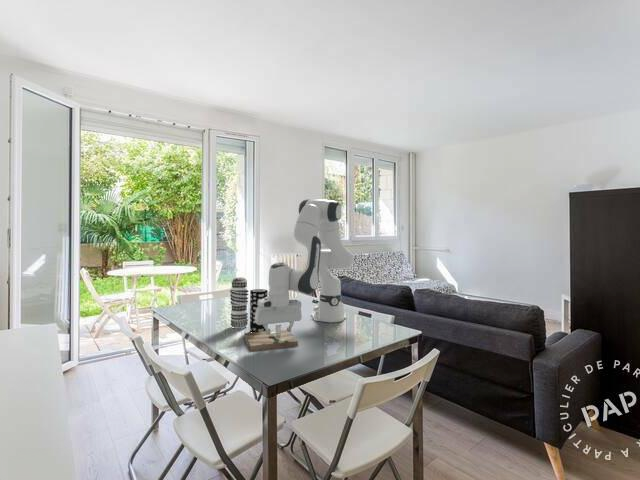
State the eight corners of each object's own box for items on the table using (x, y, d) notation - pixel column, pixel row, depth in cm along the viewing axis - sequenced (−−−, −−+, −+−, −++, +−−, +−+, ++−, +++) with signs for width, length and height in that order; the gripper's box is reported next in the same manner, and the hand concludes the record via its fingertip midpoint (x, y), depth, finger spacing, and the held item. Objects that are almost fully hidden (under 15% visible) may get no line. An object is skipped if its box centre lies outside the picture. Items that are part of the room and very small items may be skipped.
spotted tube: (270, 330, 173) (270, 289, 173) (262, 334, 165) (262, 292, 165) (255, 328, 176) (255, 288, 176) (246, 332, 168) (246, 291, 168)
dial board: (244, 337, 160) (244, 332, 160) (286, 333, 167) (286, 329, 167) (250, 350, 143) (250, 345, 143) (297, 345, 149) (297, 340, 149)
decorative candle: (230, 330, 173) (230, 279, 172) (229, 325, 182) (229, 277, 181) (248, 328, 175) (249, 278, 175) (247, 324, 184) (247, 276, 184)
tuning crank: (268, 334, 157) (268, 321, 157) (277, 333, 159) (277, 320, 159) (274, 341, 148) (274, 326, 148) (284, 339, 150) (284, 325, 150)
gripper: (298, 297, 158) (298, 328, 158) (253, 301, 149) (253, 333, 149) (304, 300, 152) (303, 332, 152) (257, 304, 143) (257, 337, 143)
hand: (278, 332), depth 151 cm, fingers open, 8 cm apart
